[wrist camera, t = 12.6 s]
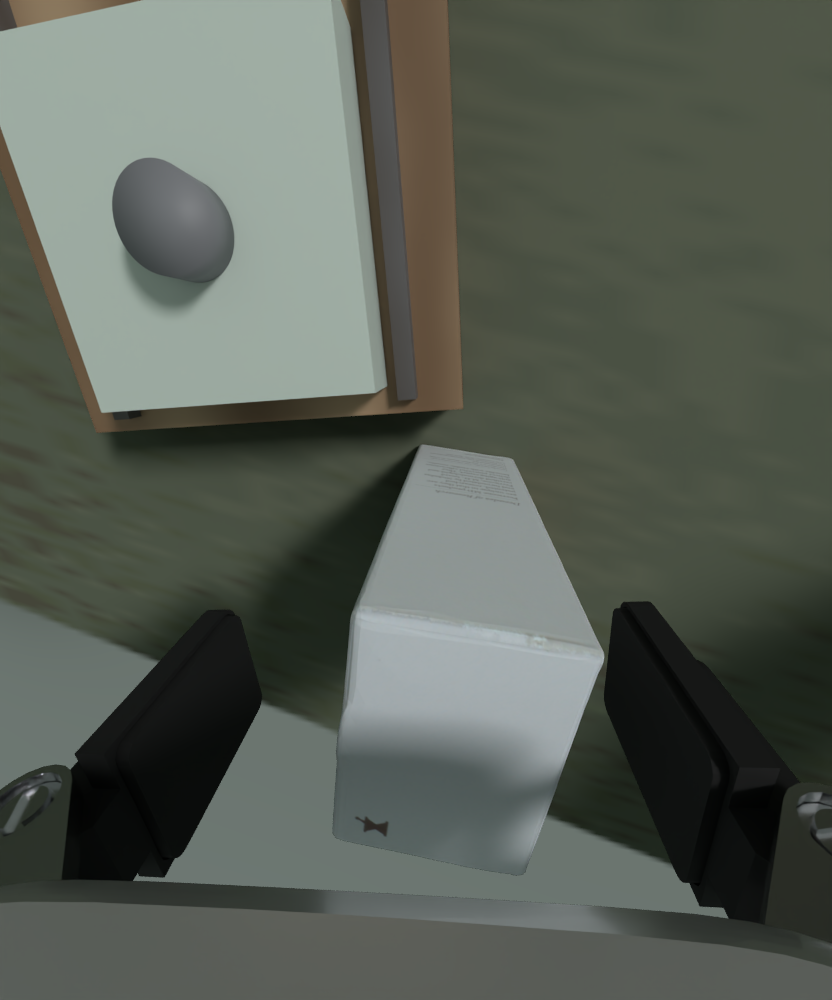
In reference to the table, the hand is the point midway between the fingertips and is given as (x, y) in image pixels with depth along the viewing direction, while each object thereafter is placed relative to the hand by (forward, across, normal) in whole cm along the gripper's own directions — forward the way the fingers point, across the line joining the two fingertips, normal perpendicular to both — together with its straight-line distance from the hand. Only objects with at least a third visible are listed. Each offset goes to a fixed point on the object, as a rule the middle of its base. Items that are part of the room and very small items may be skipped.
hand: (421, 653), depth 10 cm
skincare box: (+9, -1, 0) cm, 9 cm away
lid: (+6, +6, -11) cm, 13 cm away
